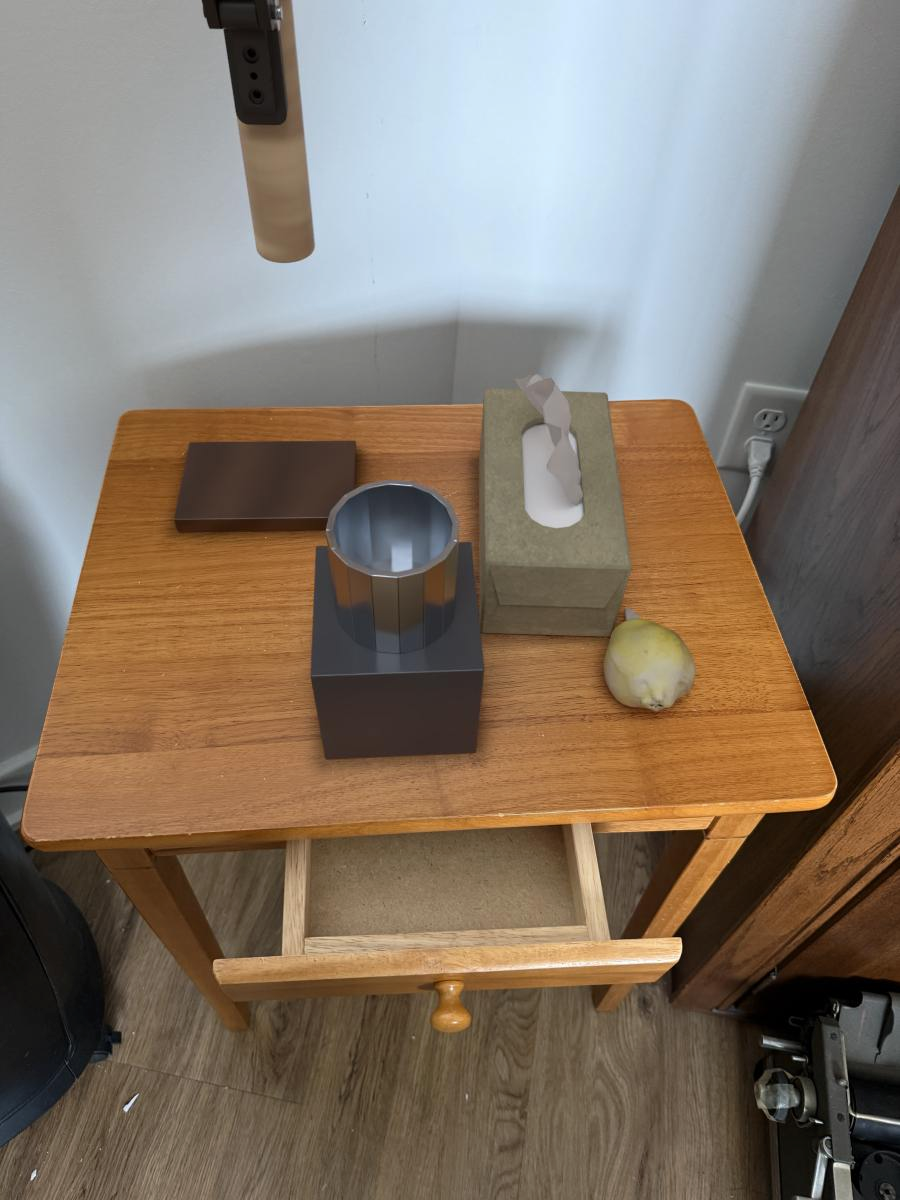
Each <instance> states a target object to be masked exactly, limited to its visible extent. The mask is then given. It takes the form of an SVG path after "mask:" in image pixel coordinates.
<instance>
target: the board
mask: <svg viewBox="0 0 900 1200" xmlns="http://www.w3.org/2000/svg"><path fill="white" fill-rule="evenodd" d="M187 447H188V448H187V451H186V457H185V462H184V466H183V472H182V477H181V482H180V486H179V491H178V497H177V502H176V506H175V511H174V516H173V522H174V524H175V525H174V526H175V528H176V531H177V533H208V532H209V533H211V532H213V533H214V532H220V533H221V532H279V531H280V532H281V531H283V532H284V531H287V532H289V531H326V527H327V523H328V519H329V514H330V512H331V510H332V509H333V508H334V507H335V505H336V504H337V503H338V502H339V501H340V499H341V498H342V497H343V496H344V495H346V494H347V493H349V492H351V491H353V490H355V489H357V485H356V484H357V458H358V457H357V453H358V451H357V441H356V440H273V441H272V440H270V441H269V440H267V441H264V440H263V441H260V440H259V441H189V443H188V446H187Z"/></svg>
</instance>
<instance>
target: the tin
mask: <svg viewBox="0 0 900 1200" xmlns="http://www.w3.org/2000/svg"><path fill="white" fill-rule="evenodd" d="M460 523H461V522H460V520H459V518H458V515H457V513H456V510H455V508H454V506H453V504H452V503H451V502H450V501H449V500H447V499H446V498H445V497H444V496H443V495H442V494H441V493H440V492H439V491H438V490H436V489H434V488H431V487H430V486H427V485H424V484H421V483H418V482H416V481H412V480H400V479H384V480H378V481H373V482H369V483H365V484H362V485H360V486H359V487H356V489H355V490H353V491H351V492H349V493H347V494H346V495H344V496H343V497H342V498H341V499H340V501H339V502H338V503H337V504H336V505H335V507H334V508H333V509H332V510H331V512H330V514H329V519H328V523H327V527H326V530H325V536H326V537H325V538H326V546H328V553H329V561H330V569H331V577H332V586H333V594H334V602H335V609H336V613H337V616H338V620H339V623H340V626H341V628H342V629H343V630H344V631H345V632H346V633H347V634H348V635H349V636H350V637H351V638H352V639H353V640H354V641H355V642H356V643H358V644H360V645H363V646H365V647H367V648H369V649H371V650H374V651H377V652H386V653H398V654H400V653H405V652H410V651H414V650H418V649H422V648H423V647H424V648H425V647H426V646H428V645H429V644H431V643H432V642H434V641H435V640H437V639H438V638H440V637H441V636H442V635H443V634H444V633H445V631H446V630H447V628H448V627H449V625H450V624H451V622H452V620H453V618H454V612H455V602H456V584H457V565H458V545H459V542H460Z"/></svg>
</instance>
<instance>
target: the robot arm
mask: <svg viewBox="0 0 900 1200" xmlns="http://www.w3.org/2000/svg"><path fill="white" fill-rule="evenodd" d="M201 3H202V13H203V18H204V19H206V24H207V27H208V28H209V29H208V30H223V36H224V37H223V38H224V44H225V50H226V56H227V57H226V58H227V63H228V70H229V77H230V84H231V91H232V97H233V104H234V110H235V116H236V115H237V116H236V118H237V117H238V119H239V120H240V121H241V122H242V123H244V124H248V125H281V124H282V123H284V122H285V120H286V118H287V113H288V101H287V91H286V82H285V72H284V63H283V53H282V44H281V34H280V20H283V13H282V6H281V5H279V0H201Z"/></svg>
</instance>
